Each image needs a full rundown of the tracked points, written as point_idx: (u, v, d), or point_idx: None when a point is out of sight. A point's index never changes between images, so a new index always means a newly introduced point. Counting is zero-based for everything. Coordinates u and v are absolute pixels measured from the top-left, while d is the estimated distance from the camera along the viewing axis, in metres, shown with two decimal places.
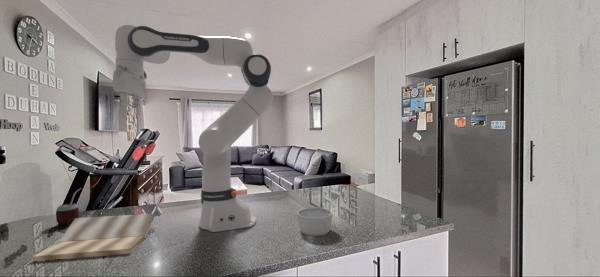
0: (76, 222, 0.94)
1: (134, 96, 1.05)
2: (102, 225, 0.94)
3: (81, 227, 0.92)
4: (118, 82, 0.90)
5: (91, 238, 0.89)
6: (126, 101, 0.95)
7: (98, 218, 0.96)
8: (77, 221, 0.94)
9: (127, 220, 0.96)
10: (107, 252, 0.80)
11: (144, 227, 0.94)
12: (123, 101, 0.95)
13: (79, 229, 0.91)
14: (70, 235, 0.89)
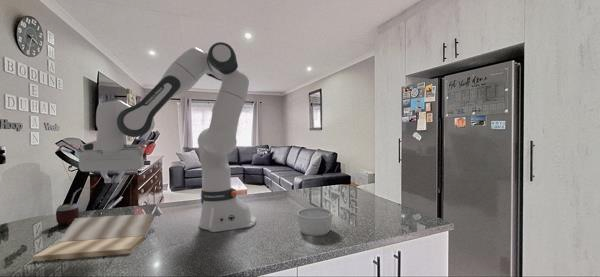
0: (76, 222, 0.94)
1: None
2: (102, 225, 0.94)
3: (81, 227, 0.92)
4: (142, 161, 0.98)
5: (91, 238, 0.89)
6: (121, 178, 0.98)
7: (98, 218, 0.96)
8: (77, 221, 0.94)
9: (127, 220, 0.96)
10: (107, 252, 0.80)
11: (144, 227, 0.94)
12: (120, 178, 0.97)
13: (79, 229, 0.91)
14: (70, 235, 0.89)
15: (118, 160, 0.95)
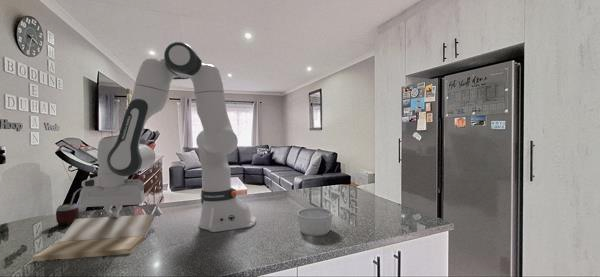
0: (76, 223, 0.94)
1: None
2: (103, 226, 0.94)
3: (81, 227, 0.92)
4: (142, 195, 0.99)
5: (91, 238, 0.89)
6: (118, 212, 0.98)
7: (98, 219, 0.96)
8: (78, 221, 0.95)
9: (127, 221, 0.97)
10: (107, 252, 0.80)
11: (144, 228, 0.94)
12: (117, 213, 0.97)
13: (79, 230, 0.92)
14: (70, 235, 0.89)
15: (118, 195, 0.96)
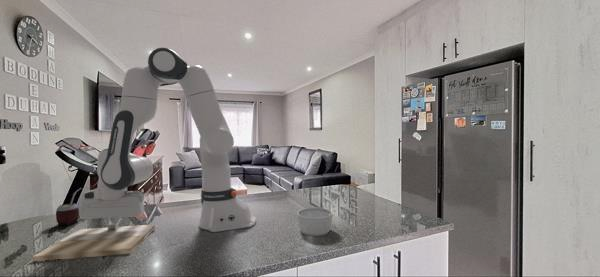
0: (78, 231, 0.95)
1: None
2: (104, 232, 0.95)
3: (82, 233, 0.93)
4: (142, 207, 0.99)
5: (91, 238, 0.89)
6: (118, 224, 0.98)
7: (100, 228, 0.97)
8: (80, 230, 0.96)
9: (128, 228, 0.97)
10: (107, 252, 0.80)
11: (144, 231, 0.95)
12: (116, 225, 0.97)
13: (80, 235, 0.92)
14: (71, 238, 0.90)
15: (118, 207, 0.96)
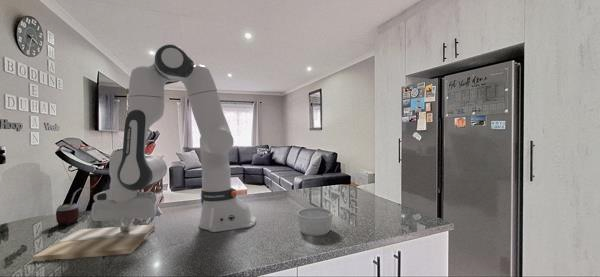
0: (78, 231, 0.95)
1: (121, 218, 0.95)
2: (104, 232, 0.95)
3: (82, 233, 0.93)
4: (155, 208, 0.97)
5: (91, 238, 0.89)
6: (130, 225, 0.96)
7: (100, 228, 0.97)
8: (80, 230, 0.96)
9: None
10: (107, 252, 0.80)
11: (144, 231, 0.95)
12: (129, 226, 0.95)
13: (80, 235, 0.92)
14: (71, 238, 0.90)
15: (131, 209, 0.94)
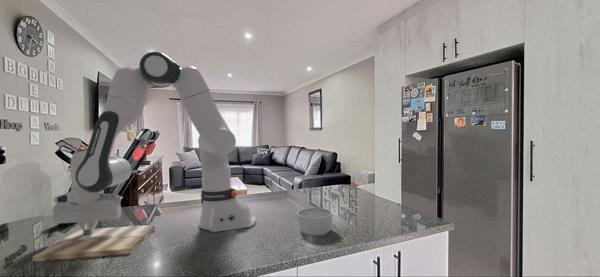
0: (78, 231, 0.95)
1: None
2: (104, 232, 0.95)
3: (82, 234, 0.93)
4: (119, 210, 0.95)
5: (91, 238, 0.89)
6: (94, 228, 0.94)
7: (100, 229, 0.97)
8: (80, 231, 0.96)
9: (129, 228, 0.97)
10: (107, 252, 0.80)
11: (144, 231, 0.95)
12: (92, 229, 0.93)
13: (80, 235, 0.92)
14: (71, 238, 0.90)
15: (93, 211, 0.92)
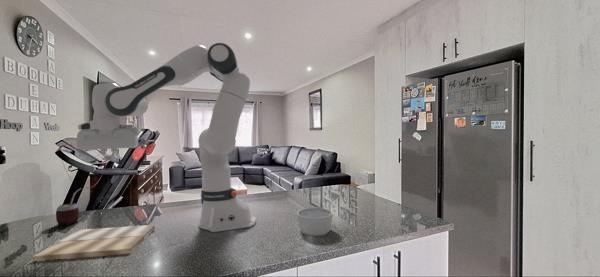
0: (78, 231, 0.95)
1: (105, 148, 1.02)
2: (104, 232, 0.95)
3: (82, 234, 0.93)
4: (136, 140, 1.05)
5: (91, 238, 0.89)
6: (114, 156, 1.04)
7: (100, 229, 0.97)
8: (80, 231, 0.96)
9: (129, 228, 0.97)
10: (107, 252, 0.80)
11: (144, 231, 0.95)
12: (113, 156, 1.03)
13: (80, 235, 0.92)
14: (71, 238, 0.90)
15: (113, 139, 1.02)
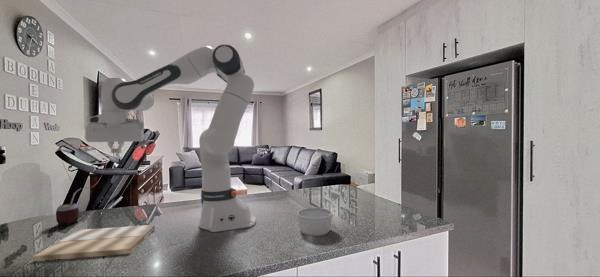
0: (78, 231, 0.95)
1: (112, 141, 1.06)
2: (104, 232, 0.95)
3: (82, 234, 0.93)
4: (142, 134, 1.09)
5: (91, 238, 0.89)
6: (120, 149, 1.08)
7: (100, 229, 0.97)
8: (80, 231, 0.96)
9: (129, 228, 0.97)
10: (107, 252, 0.80)
11: (144, 231, 0.95)
12: (119, 149, 1.07)
13: (80, 235, 0.92)
14: (71, 238, 0.90)
15: (120, 132, 1.06)
